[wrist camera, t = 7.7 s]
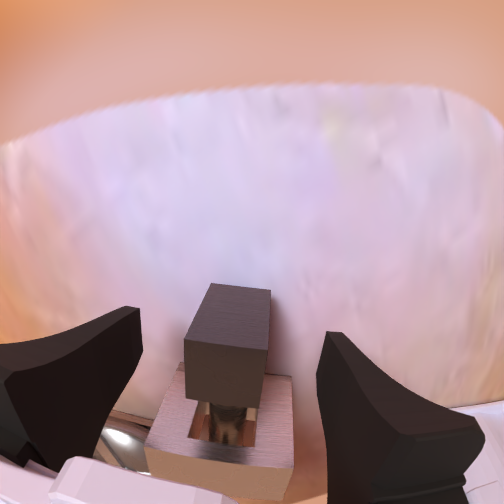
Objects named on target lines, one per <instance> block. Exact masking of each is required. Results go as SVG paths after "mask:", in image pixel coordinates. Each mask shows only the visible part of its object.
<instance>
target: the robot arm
mask: <svg viewBox="0 0 504 504" xmlns="http://www.w3.org/2000/svg"><path fill="white" fill-rule="evenodd" d="M142 353H143V344H142V333H141V320H140V308H135V307H130V306H124V307H121V308H118V309H116V310H114V311H112V312H109V313H107V314H105V315H103V316H101V317H98V318H96V319H94V320H92V321H90V322H87V323H85V324H82V325H80V326H77V327H75V328H73V329H70V330H67V331H65V332H62V333H59V334H55V335H52V336H48V337H45V338H40V339H35V340H30V341H25V342H18V343H9V344H0V504H239V503H238V502H237V501H235V500H233V499H231V498H230V497H228V496H226V495H224V494H223V493H221V492H218V491H214V490H210V489H206V488H203V487H199V486H195V485H189V484H184V483H179V482H175V481H170V480H166V479H161V478H157V477H153V476H149V475H145V474H141V473H138V472H134V471H131V470H127V469H124V468H121V467H117V466H114V465H111V464H108V463H105V462H102V461H99V460H96V459H92V457H93V454H94V451H95V448H96V446H97V443H98V440H99V437H100V435H101V432H102V430H103V428H104V425H105V423H106V420H107V418H108V416H109V414H110V412H111V410H112V408H113V407H114V405H115V403H116V402H117V400H118V398H119V397H120V395H121V393H122V392H123V390H124V388H125V387H126V385H127V383H128V382H129V380H130V378H131V377H132V375H133V373H134V372H135V370H136V367H137V365H138V363H139V360H140V358H141V355H142ZM316 382H317V397H318V402H319V408H320V413H321V419H322V424H323V429H324V435H325V440H326V448H327V472H328V497H327V504H504V400H503V401H497V402H492V403H486V404H480V405H473V406H466V407H458V408H450V409H448V408H445V407H443V406H440V405H438V404H435V403H433V402H431V401H429V400H427V399H425V398H423V397H421V396H419V395H417V394H415V393H414V392H412V391H410V390H408V389H407V388H405V387H404V386H402V385H401V384H399V383H398V382H396V381H395V380H394V379H392V378H391V377H390V376H388V375H387V374H386V373H385V372H383V371H382V370H381V369H380V368H379V367H377V366H376V365H375V364H374V363H373V362H372V361H371V360H370V359H369V358H368V357H366V356H365V355H364V354H363V353H362V352H361V351H360V350H359V349H358V348H357V347H356V346H355V345H354V344H353V343H352V342H351V341H350V339H349V338H348V337H346V336H345V335H344V334H343V333H342V332H330V331H326V336H325V340H324V344H323V348H322V352H321V356H320V361H319V364H318V368H317V372H316Z"/></svg>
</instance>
